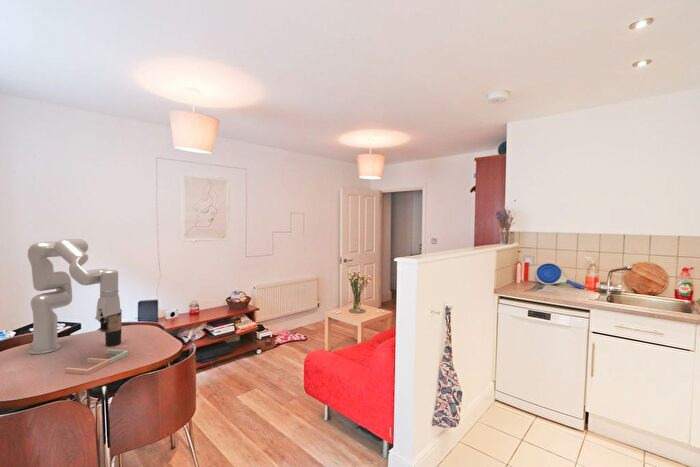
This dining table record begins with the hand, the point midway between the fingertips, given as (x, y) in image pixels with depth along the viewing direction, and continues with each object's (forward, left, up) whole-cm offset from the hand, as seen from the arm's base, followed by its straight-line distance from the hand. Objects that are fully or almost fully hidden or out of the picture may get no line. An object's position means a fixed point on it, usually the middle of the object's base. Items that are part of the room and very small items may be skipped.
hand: (109, 327), depth 164 cm
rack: (0, -6, -16) cm, 17 cm away
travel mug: (-14, +18, -16) cm, 28 cm away
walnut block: (0, 0, -2) cm, 2 cm away
